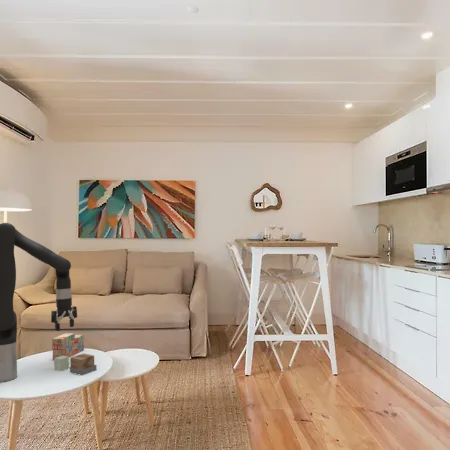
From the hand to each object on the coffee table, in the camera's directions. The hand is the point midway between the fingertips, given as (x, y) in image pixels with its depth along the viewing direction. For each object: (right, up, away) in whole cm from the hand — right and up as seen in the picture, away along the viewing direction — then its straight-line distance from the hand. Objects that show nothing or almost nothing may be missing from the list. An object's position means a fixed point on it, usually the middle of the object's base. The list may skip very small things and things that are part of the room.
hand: (64, 328), depth 213 cm
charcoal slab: (+11, -21, -5) cm, 24 cm away
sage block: (-1, -21, -1) cm, 21 cm away
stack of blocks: (-7, -22, +24) cm, 33 cm away
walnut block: (+11, -18, -6) cm, 22 cm away
